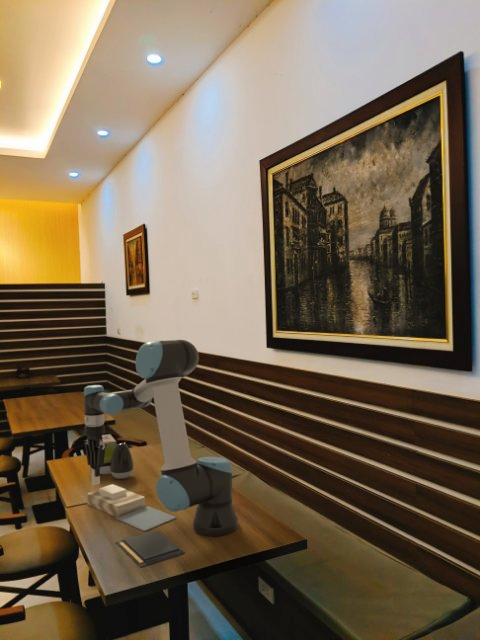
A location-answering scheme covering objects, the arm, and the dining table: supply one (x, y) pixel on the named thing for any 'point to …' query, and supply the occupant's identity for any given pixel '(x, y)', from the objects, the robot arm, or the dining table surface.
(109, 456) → the tea box
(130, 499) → the riser
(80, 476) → the dining table surface
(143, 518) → the mat
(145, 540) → the dark grey flat slab
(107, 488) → the cream rectangular block
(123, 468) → the pump dispenser
